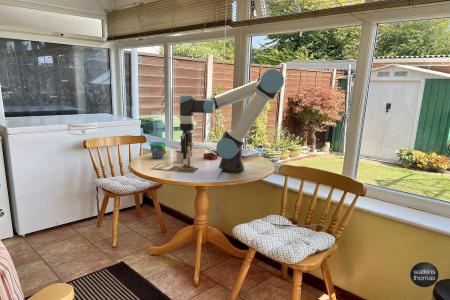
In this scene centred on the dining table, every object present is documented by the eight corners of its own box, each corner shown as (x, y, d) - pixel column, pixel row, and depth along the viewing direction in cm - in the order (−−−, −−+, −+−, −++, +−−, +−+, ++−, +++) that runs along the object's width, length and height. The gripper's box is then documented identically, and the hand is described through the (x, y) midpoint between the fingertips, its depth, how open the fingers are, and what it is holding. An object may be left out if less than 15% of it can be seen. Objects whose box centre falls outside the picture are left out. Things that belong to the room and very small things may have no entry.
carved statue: (193, 168, 178) (193, 142, 175) (191, 170, 174) (191, 143, 171) (182, 167, 179) (182, 141, 176) (179, 169, 175) (179, 142, 172)
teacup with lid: (182, 166, 191) (182, 147, 188) (173, 163, 196) (173, 145, 194) (196, 162, 199) (196, 145, 197) (187, 160, 205) (187, 143, 203)
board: (199, 170, 182) (199, 165, 181) (192, 175, 170) (193, 170, 169) (158, 166, 187) (158, 162, 186) (149, 171, 175) (149, 166, 175)
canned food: (207, 163, 219) (210, 150, 222) (219, 163, 213) (222, 150, 216) (198, 158, 210) (201, 144, 213) (209, 158, 205) (213, 144, 207)
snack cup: (145, 156, 214) (145, 142, 212) (159, 154, 220) (159, 140, 218) (156, 160, 202) (155, 145, 200) (170, 158, 209) (170, 144, 206)
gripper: (185, 121, 180) (185, 159, 185) (174, 124, 164) (175, 166, 169) (197, 121, 179) (197, 160, 183) (187, 124, 162) (187, 167, 167)
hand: (186, 163), depth 176 cm, fingers closed on carved statue, 4 cm apart
